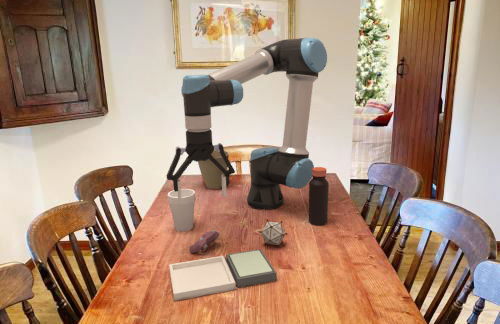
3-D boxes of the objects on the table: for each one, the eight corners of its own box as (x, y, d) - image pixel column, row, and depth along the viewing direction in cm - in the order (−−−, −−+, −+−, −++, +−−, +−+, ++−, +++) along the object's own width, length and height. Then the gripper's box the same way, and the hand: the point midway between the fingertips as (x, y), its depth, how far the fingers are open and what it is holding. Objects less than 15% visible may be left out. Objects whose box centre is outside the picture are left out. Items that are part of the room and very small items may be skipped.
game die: (278, 252, 123) (296, 228, 122) (271, 255, 115) (290, 230, 114) (257, 235, 125) (274, 211, 124) (249, 237, 118) (268, 212, 117)
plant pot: (198, 182, 184) (196, 150, 180) (229, 181, 185) (228, 149, 181) (198, 192, 169) (196, 158, 165) (231, 191, 171) (229, 157, 167)
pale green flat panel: (259, 253, 112) (259, 250, 112) (272, 274, 101) (272, 270, 100) (229, 258, 109) (229, 254, 109) (240, 280, 98) (240, 276, 98)
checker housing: (260, 256, 113) (260, 248, 113) (276, 280, 101) (276, 272, 100) (226, 262, 110) (226, 254, 110) (238, 287, 98) (237, 279, 97)
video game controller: (197, 260, 115) (204, 244, 112) (187, 251, 116) (193, 234, 113) (216, 246, 123) (224, 231, 120) (206, 238, 125) (213, 222, 121)
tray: (223, 261, 111) (223, 255, 110) (235, 289, 97) (235, 282, 97) (169, 270, 107) (169, 264, 106) (174, 300, 93) (173, 293, 92)
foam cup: (191, 234, 129) (189, 198, 125) (166, 232, 131) (163, 197, 127) (200, 222, 138) (198, 189, 134) (176, 221, 140) (174, 188, 136)
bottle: (308, 217, 140) (309, 165, 135) (327, 218, 139) (329, 166, 134) (307, 225, 134) (308, 171, 129) (327, 226, 132) (329, 171, 127)
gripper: (237, 124, 116) (239, 190, 121) (153, 130, 109) (160, 198, 115) (243, 128, 109) (245, 197, 114) (154, 134, 102) (161, 207, 108)
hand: (202, 198), depth 115 cm, fingers open, 13 cm apart
